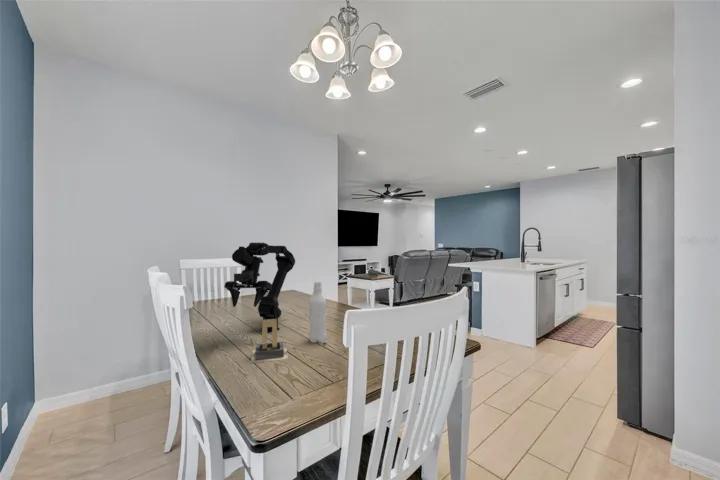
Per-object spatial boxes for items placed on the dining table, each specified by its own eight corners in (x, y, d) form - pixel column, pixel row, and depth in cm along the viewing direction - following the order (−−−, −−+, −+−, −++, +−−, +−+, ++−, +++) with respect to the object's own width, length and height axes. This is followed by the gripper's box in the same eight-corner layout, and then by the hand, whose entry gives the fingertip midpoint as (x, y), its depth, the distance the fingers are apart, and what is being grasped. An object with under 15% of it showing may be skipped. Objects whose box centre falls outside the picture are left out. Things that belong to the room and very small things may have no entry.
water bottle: (323, 347, 113) (323, 284, 113) (306, 345, 114) (306, 283, 114) (328, 340, 120) (328, 281, 120) (312, 339, 121) (312, 281, 121)
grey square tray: (253, 353, 107) (253, 343, 107) (286, 349, 110) (286, 339, 110) (250, 367, 95) (250, 355, 95) (287, 362, 99) (287, 351, 99)
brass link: (262, 352, 104) (262, 319, 104) (276, 351, 105) (276, 318, 105) (262, 357, 100) (262, 323, 100) (277, 355, 102) (276, 321, 101)
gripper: (220, 264, 116) (210, 302, 109) (262, 262, 113) (255, 302, 106) (236, 272, 126) (228, 308, 119) (275, 271, 122) (269, 308, 116)
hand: (244, 306), depth 115 cm, fingers open, 9 cm apart
